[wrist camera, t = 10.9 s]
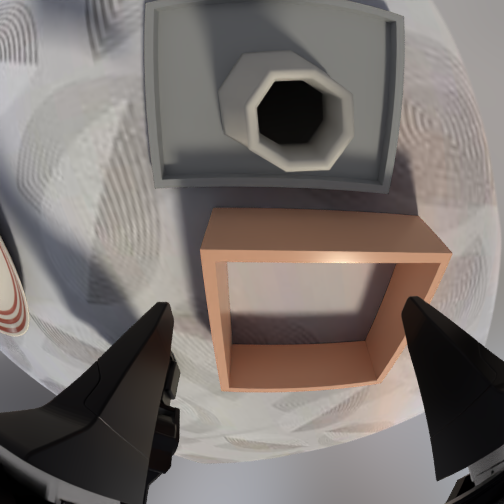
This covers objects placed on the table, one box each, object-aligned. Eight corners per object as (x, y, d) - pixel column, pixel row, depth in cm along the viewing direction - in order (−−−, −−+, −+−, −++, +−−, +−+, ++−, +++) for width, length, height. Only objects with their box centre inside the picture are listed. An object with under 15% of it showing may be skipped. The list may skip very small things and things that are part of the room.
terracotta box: (225, 348, 29) (221, 391, 25) (213, 207, 20) (199, 249, 15) (369, 344, 29) (380, 383, 24) (418, 216, 20) (452, 253, 15)
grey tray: (161, 181, 19) (154, 188, 17) (153, 8, 11) (145, 3, 10) (380, 186, 18) (388, 194, 17) (394, 19, 11) (403, 16, 10)
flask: (231, 38, 13) (198, -18, 4) (346, 68, 13) (439, 60, 5) (207, 144, 17) (157, 210, 8) (316, 168, 17) (368, 253, 9)
